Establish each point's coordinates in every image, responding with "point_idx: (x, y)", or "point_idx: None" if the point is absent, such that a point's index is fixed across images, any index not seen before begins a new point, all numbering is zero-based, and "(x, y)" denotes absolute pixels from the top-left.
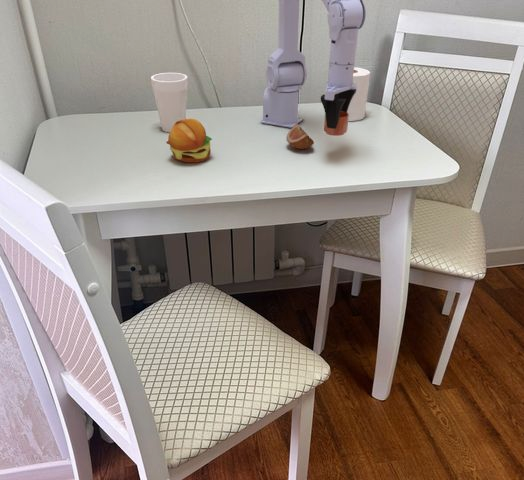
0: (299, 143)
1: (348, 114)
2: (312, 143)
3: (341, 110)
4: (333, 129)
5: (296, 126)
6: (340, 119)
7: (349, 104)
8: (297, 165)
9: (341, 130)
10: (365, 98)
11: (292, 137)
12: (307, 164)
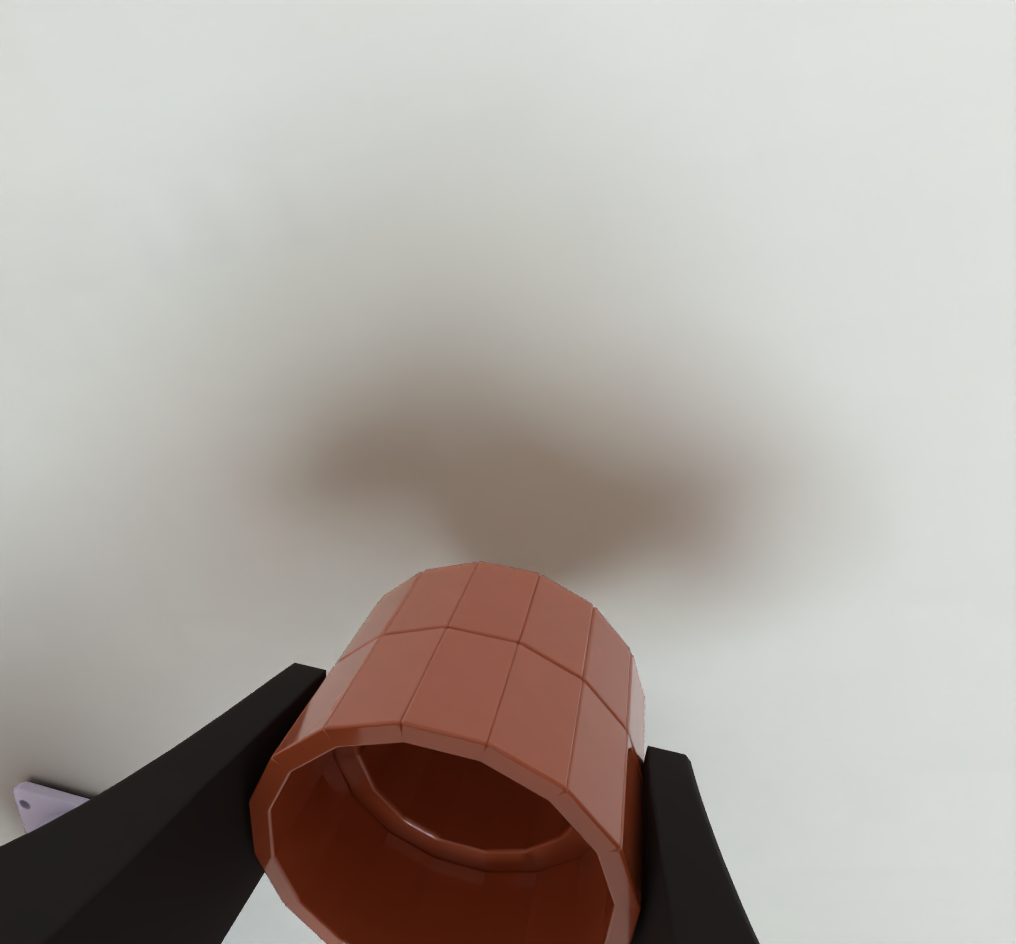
0: None
1: (381, 728)
2: None
3: (243, 821)
4: (642, 752)
5: None
6: (619, 812)
7: (83, 807)
8: (870, 765)
9: (602, 651)
10: None
11: None
12: (829, 702)
